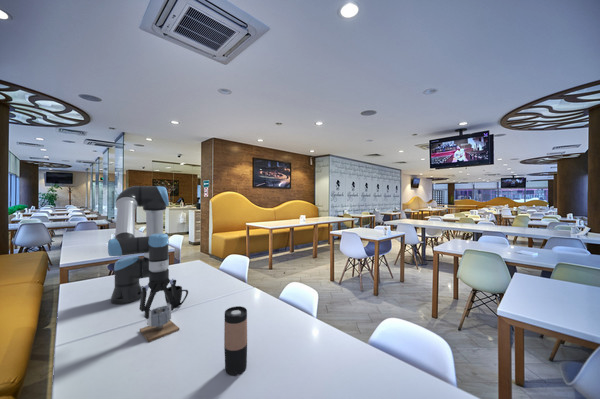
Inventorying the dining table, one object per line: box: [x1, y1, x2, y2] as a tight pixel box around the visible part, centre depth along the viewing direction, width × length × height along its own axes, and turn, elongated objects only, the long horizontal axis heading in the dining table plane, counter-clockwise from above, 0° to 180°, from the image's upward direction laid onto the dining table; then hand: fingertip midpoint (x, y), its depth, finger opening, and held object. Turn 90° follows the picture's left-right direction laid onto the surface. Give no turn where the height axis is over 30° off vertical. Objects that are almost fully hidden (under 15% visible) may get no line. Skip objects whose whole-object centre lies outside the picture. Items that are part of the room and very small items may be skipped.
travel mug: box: [223, 305, 248, 377], centre depth 86 cm, size 8×8×20 cm
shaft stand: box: [139, 309, 180, 343], centre depth 109 cm, size 12×12×9 cm
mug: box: [164, 285, 189, 309], centre depth 133 cm, size 8×12×10 cm
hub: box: [151, 306, 171, 327], centre depth 109 cm, size 7×7×5 cm
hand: (159, 321), depth 109 cm, fingers closed on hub, 7 cm apart
